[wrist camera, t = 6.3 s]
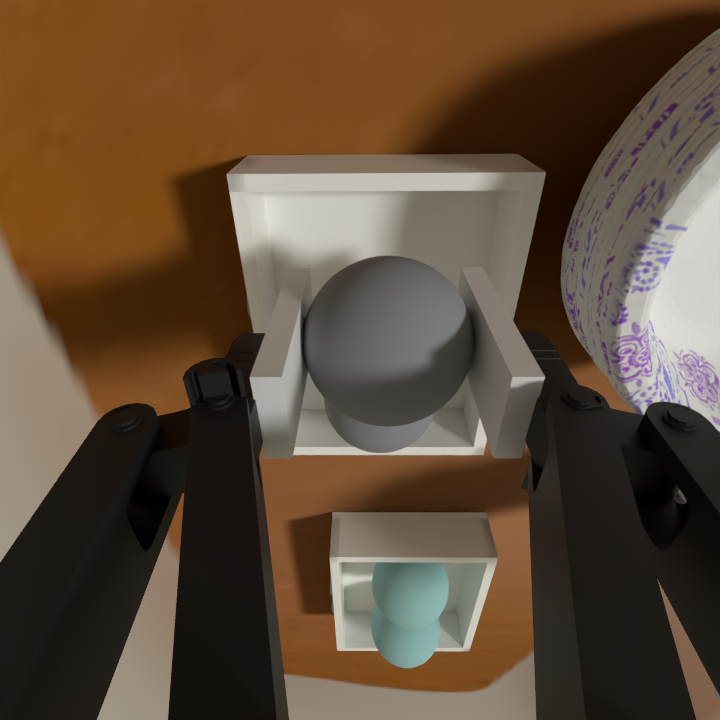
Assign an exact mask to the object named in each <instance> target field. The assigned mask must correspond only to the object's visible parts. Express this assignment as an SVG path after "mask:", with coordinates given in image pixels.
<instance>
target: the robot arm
mask: <svg viewBox="0 0 720 720" xmlns="http://www.w3.org/2000/svg"><path fill="white" fill-rule="evenodd" d="M458 292H459V294H460V295H461V297H462V299H463V300H464V302H465V304H466V306H467V308H468V311H469V314H470V317H471V321H472V325H473V333H474V349H473V356H472V360H471V364H470V368H469V371H468V373H467V379H468V382H469V385H470V388H471V391H472V394H473V397H474V401H475V404H476V407H477V410H478V413H479V416H480V419H481V422H482V425H483V428H484V431H485V434H486V437H487V441H488V444H489V447H490V450H491V453H492V456H493V458H522V455H523V452H524V448H525V445H526V443H527V446H528V448H529V451H530V453H531V455H532V456H531V459H530V462H529V466H528V469H527V472H526V475H525V479H524V482H523V486H522V489H526V488H527V485H528V492H529V521H530V549H531V577H532V606H533V634H534V661H535V691H536V719H537V720H696V717H695V714H694V710H693V707H692V703H691V699H690V696H689V692H688V688H687V685H686V681H685V678H684V674H683V670H682V667H681V663H680V659H679V656H678V652H677V649H676V645H675V642H674V638H673V634H672V631H671V628H670V623H669V620H668V616H667V613H666V609H665V605H664V602H663V598H662V595H661V591H660V587H659V584H658V581H659V583H660V585H661V586H662V588H663V590H664V592H665V594H666V596H667V597H668V600H669V601H670V603H671V605H672V607H673V609H674V611H675V613H676V615H677V617H678V618H679V620H680V622H681V624H682V626H683V627H684V630H685V632H686V633H687V635H688V637H689V639H690V641H691V643H692V645H693V647H694V648H695V650H696V652H697V654H698V656H699V658H700V660H701V662H702V664H703V665H704V667H705V669H706V671H707V673H708V675H709V677H710V679H711V681H712V682H713V684H714V686H715V688H716V690H717V692H718V694H719V696H720V432H719V431H718V430H717V429H716V428H715V427H714V426H713V424H712V423H711V422H710V421H709V420H708V419H706V418H705V417H704V416H703V415H702V414H700V413H699V412H697V411H695V410H693V409H691V408H689V407H687V406H685V405H681V404H678V403H672V402H665V401H663V402H654V403H653V404H651V405H649V406H648V407H647V409H646V412H645V414H644V415H639V414H634V413H629V412H625V411H620V410H616V409H612V408H610V407H609V404H608V403H607V401H606V399H605V398H604V397H603V396H601V395H600V394H599V393H598V392H596V391H594V390H592V389H590V388H588V387H584V386H580V385H579V384H578V383H577V381H576V380H575V378H574V377H573V375H572V374H571V372H570V371H569V369H568V368H567V366H566V365H565V363H564V362H563V360H561V357H560V356H559V354H558V353H557V352H556V350H555V348H554V347H553V345H552V344H551V342H550V341H549V340H548V339H547V338H545V337H544V336H543V335H541V334H540V333H538V332H537V331H519V330H518V329H517V327H516V325H515V323H514V322H513V320H512V318H511V316H510V315H509V313H508V311H507V309H506V308H505V306H504V304H503V302H502V301H501V299H500V297H499V296H498V294H497V292H496V290H495V289H494V287H493V285H492V283H491V282H490V280H489V278H488V276H487V275H486V273H485V271H484V269H483V268H482V267H461V273H460V280H459V288H458ZM312 302H313V301H312V288H311V274H310V268H289V269H288V272H287V275H286V278H285V280H284V283H283V286H282V289H281V292H280V294H279V297H278V300H277V303H276V305H275V308H274V311H273V314H272V316H271V319H270V322H269V325H268V327H267V330H266V333H243V334H242V335H241V336H239V337H238V338H237V339H236V340H235V341H233V343H232V345H231V347H230V349H229V351H228V354H227V355H226V358H212V359H208V360H204V361H201V362H199V363H197V364H195V365H193V366H192V367H190V368H189V369H188V370H187V371H186V372H185V374H184V376H183V381H184V385H185V388H186V391H187V395H188V398H189V402H190V405H191V407H190V408H188V409H186V410H182V411H179V412H174V413H170V414H165V415H160V416H157V414H156V412H155V410H154V408H153V407H151V406H149V405H147V404H141V403H134V404H127V405H123V406H121V407H118V408H115V409H113V410H111V411H110V412H108V413H106V414H105V415H104V416H103V417H102V418H101V419H100V420H99V421H98V422H97V423H96V424H95V426H94V427H93V429H92V430H91V432H90V433H89V435H88V436H87V438H86V439H85V440H84V442H83V443H82V445H81V446H80V448H79V449H78V451H77V452H76V454H75V455H74V456H73V458H72V459H71V461H70V462H69V464H68V465H67V466H66V468H65V469H64V471H63V472H62V474H61V475H60V477H59V478H58V480H57V481H56V483H55V484H54V486H53V487H52V488H51V490H50V491H49V493H48V494H47V496H46V497H45V498H44V500H43V501H42V503H41V504H40V506H39V507H38V509H37V510H36V511H35V513H34V514H33V516H32V517H31V519H30V520H29V522H28V523H27V525H26V526H25V528H24V529H23V530H22V532H21V533H20V535H19V536H18V538H17V539H16V541H15V542H14V543H13V545H12V546H11V548H10V549H9V551H8V552H7V554H6V555H5V556H4V558H3V559H2V561H1V562H0V720H97V717H98V715H99V712H100V709H101V707H102V704H103V702H104V699H105V696H106V694H107V691H108V688H109V686H110V683H111V680H112V677H113V675H114V673H115V670H116V667H117V665H118V662H119V659H120V657H121V654H122V651H123V649H124V646H125V643H126V640H127V638H128V636H129V633H130V630H131V627H132V625H133V622H134V620H135V617H136V614H137V612H138V609H139V606H140V604H141V601H142V599H143V596H144V593H145V590H146V588H147V585H148V583H149V580H150V577H151V575H152V572H153V569H154V567H155V564H156V561H157V559H158V556H159V554H160V551H161V548H162V546H163V543H164V540H165V538H166V535H167V532H168V530H169V527H170V525H171V522H172V519H173V517H174V514H175V511H176V509H177V506H178V503H179V501H180V498H181V495H182V493H184V506H183V520H182V534H181V547H180V561H179V575H178V589H177V603H176V618H175V631H174V645H173V659H172V673H171V686H170V700H169V714H168V720H289V716H288V707H287V698H286V689H285V680H284V671H283V662H282V653H281V644H280V635H279V626H278V617H277V608H276V599H275V590H274V581H273V573H272V564H271V555H270V546H269V537H268V528H267V519H266V510H265V501H264V492H263V483H262V474H261V467H260V462H259V455H260V451H261V447H263V452H264V458H293V453H294V448H295V442H296V436H297V431H298V425H299V420H300V414H301V409H302V403H303V397H304V392H305V386H306V381H307V375H308V369H307V366H306V363H305V357H304V350H303V333H304V324H305V320H306V317H307V313H308V311H309V308H310V306H311V304H312ZM679 489H680V491H681V492H682V494H683V495H684V497H685V499H686V501H687V502H685V501H684V500H683V499H682V498H681V496H680V495H679V493H678V491H679ZM657 579H658V580H657Z"/></svg>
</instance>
